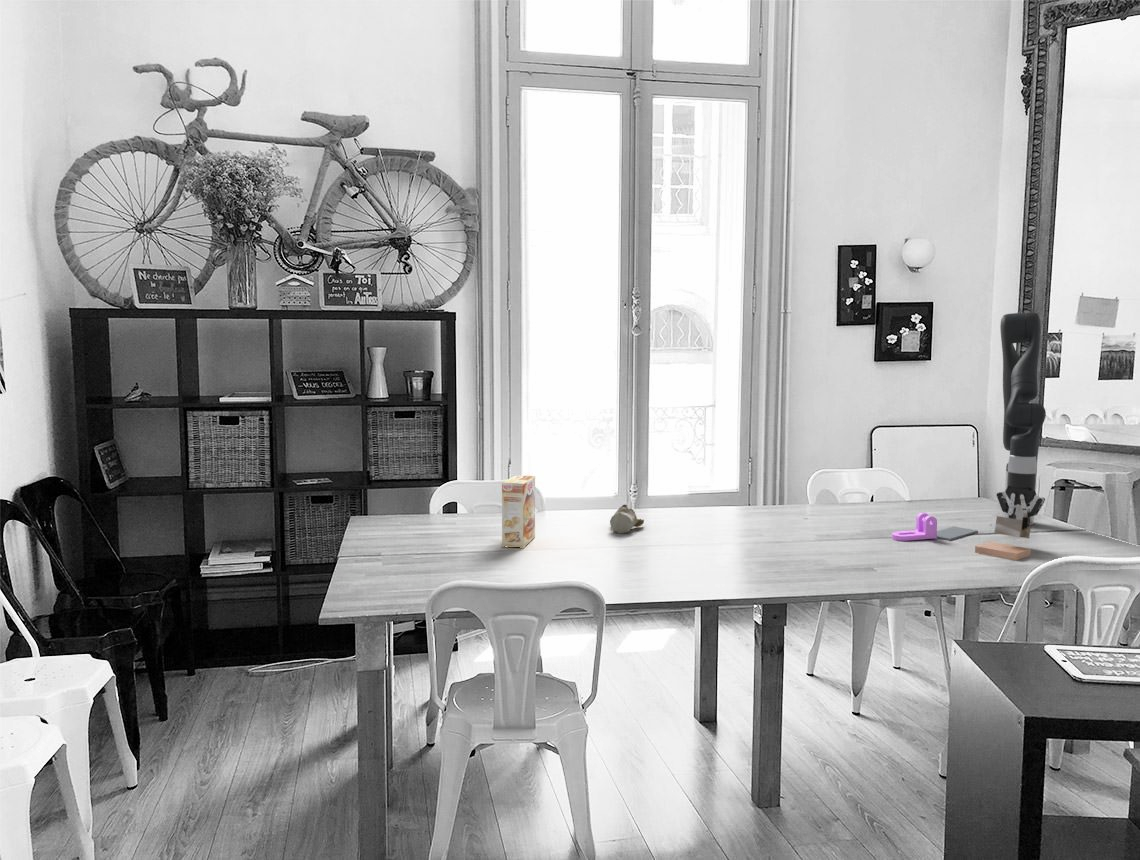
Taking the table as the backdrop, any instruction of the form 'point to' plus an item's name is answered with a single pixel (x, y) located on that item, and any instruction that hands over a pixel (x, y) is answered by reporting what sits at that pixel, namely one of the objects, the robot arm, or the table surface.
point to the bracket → (919, 529)
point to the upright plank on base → (1011, 527)
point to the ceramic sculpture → (625, 520)
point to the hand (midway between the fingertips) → (1018, 528)
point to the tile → (1002, 550)
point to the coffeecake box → (518, 511)
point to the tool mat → (954, 533)
